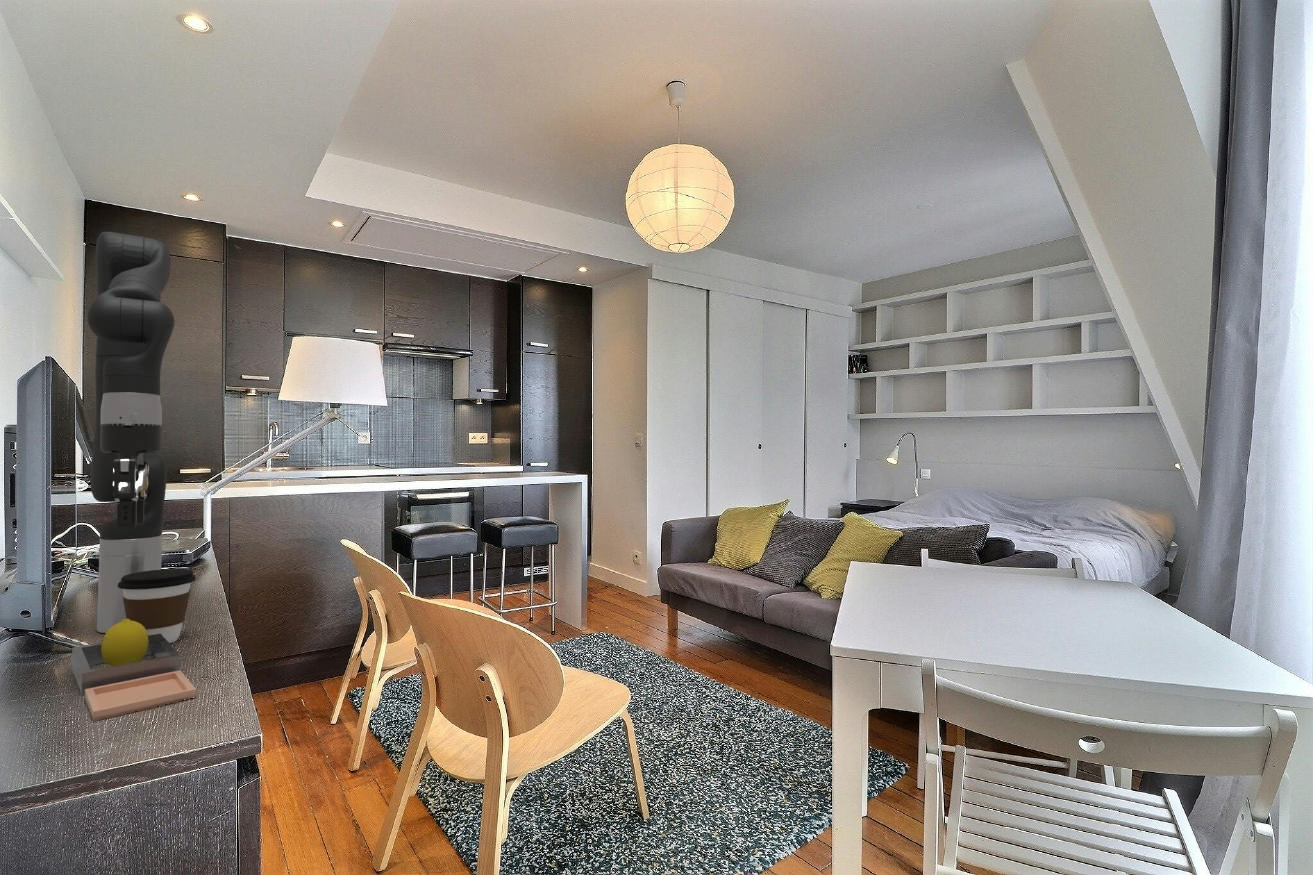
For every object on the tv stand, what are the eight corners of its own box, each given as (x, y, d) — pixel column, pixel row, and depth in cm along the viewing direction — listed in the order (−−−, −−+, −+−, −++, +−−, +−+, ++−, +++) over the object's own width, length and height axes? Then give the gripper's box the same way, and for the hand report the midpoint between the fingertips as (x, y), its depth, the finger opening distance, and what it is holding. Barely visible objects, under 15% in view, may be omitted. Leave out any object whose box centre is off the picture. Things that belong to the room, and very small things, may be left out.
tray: (84, 698, 86) (84, 689, 86) (180, 678, 94) (180, 670, 94) (93, 721, 79) (93, 711, 79) (195, 697, 87) (196, 689, 87)
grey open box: (71, 667, 98) (71, 647, 98) (160, 651, 106) (160, 633, 106) (81, 695, 87) (82, 673, 87) (179, 675, 95) (180, 655, 95)
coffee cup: (184, 647, 108) (185, 577, 109) (104, 654, 104) (106, 581, 105) (202, 630, 119) (203, 566, 119) (130, 636, 114) (132, 570, 115)
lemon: (120, 678, 94) (122, 624, 94) (90, 675, 95) (92, 622, 95) (156, 666, 99) (158, 615, 99) (128, 663, 100) (129, 613, 100)
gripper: (109, 425, 104) (108, 524, 104) (91, 419, 92) (90, 530, 92) (166, 426, 108) (165, 520, 108) (156, 420, 96) (155, 526, 96)
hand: (131, 525), depth 100 cm, fingers open, 8 cm apart
